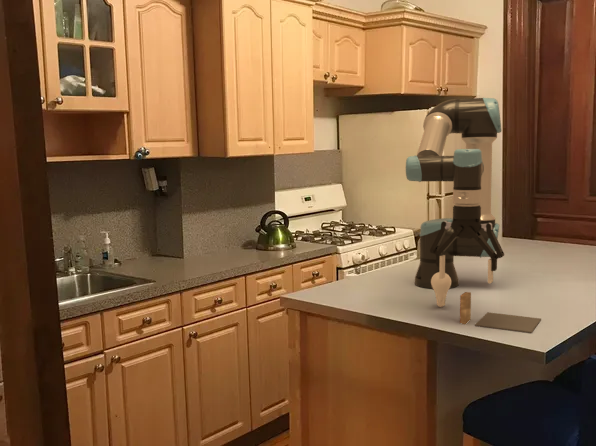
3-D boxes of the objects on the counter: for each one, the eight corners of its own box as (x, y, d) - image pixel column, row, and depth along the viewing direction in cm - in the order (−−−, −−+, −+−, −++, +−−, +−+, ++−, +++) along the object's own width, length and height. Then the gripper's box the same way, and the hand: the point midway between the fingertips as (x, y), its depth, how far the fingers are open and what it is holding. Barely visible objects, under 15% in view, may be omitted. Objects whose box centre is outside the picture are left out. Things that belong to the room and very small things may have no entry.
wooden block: (459, 323, 179) (460, 295, 178) (465, 319, 183) (465, 291, 182) (465, 324, 178) (466, 296, 177) (470, 319, 182) (470, 292, 181)
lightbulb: (448, 304, 200) (448, 269, 198) (453, 309, 194) (453, 274, 192) (428, 304, 199) (428, 270, 198) (433, 310, 193) (433, 274, 192)
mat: (474, 325, 176) (474, 324, 176) (487, 313, 188) (487, 312, 188) (531, 333, 169) (531, 331, 169) (541, 319, 181) (541, 318, 181)
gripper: (419, 204, 179) (418, 278, 182) (510, 207, 167) (508, 287, 169) (427, 202, 186) (427, 274, 188) (516, 205, 173) (514, 281, 176)
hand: (465, 280), depth 179 cm, fingers open, 13 cm apart
